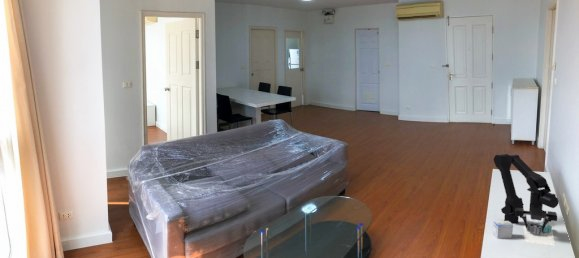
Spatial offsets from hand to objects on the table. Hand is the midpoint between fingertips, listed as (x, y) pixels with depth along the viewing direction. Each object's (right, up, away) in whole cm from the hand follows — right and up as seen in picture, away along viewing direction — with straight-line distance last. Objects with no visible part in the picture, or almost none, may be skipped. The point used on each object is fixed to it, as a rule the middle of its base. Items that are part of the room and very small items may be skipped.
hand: (534, 229), depth 223 cm
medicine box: (-17, -5, -1) cm, 18 cm away
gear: (0, -1, 0) cm, 1 cm away
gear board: (+1, -4, -2) cm, 4 cm away
